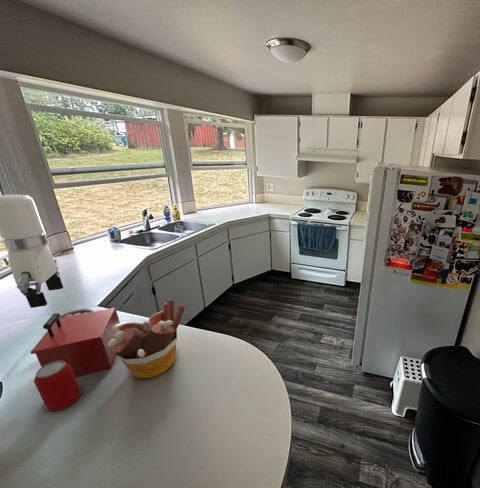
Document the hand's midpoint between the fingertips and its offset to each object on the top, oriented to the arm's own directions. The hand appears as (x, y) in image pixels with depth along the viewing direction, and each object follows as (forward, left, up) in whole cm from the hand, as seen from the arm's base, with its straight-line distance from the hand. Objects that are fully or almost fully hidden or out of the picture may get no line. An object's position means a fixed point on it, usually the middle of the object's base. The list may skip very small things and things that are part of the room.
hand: (48, 297), depth 72 cm
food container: (-3, +16, -26) cm, 30 cm away
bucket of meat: (+24, -10, -26) cm, 36 cm away
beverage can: (+3, -15, -26) cm, 30 cm away
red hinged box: (+4, +2, -25) cm, 26 cm away
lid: (+3, +2, -14) cm, 14 cm away
